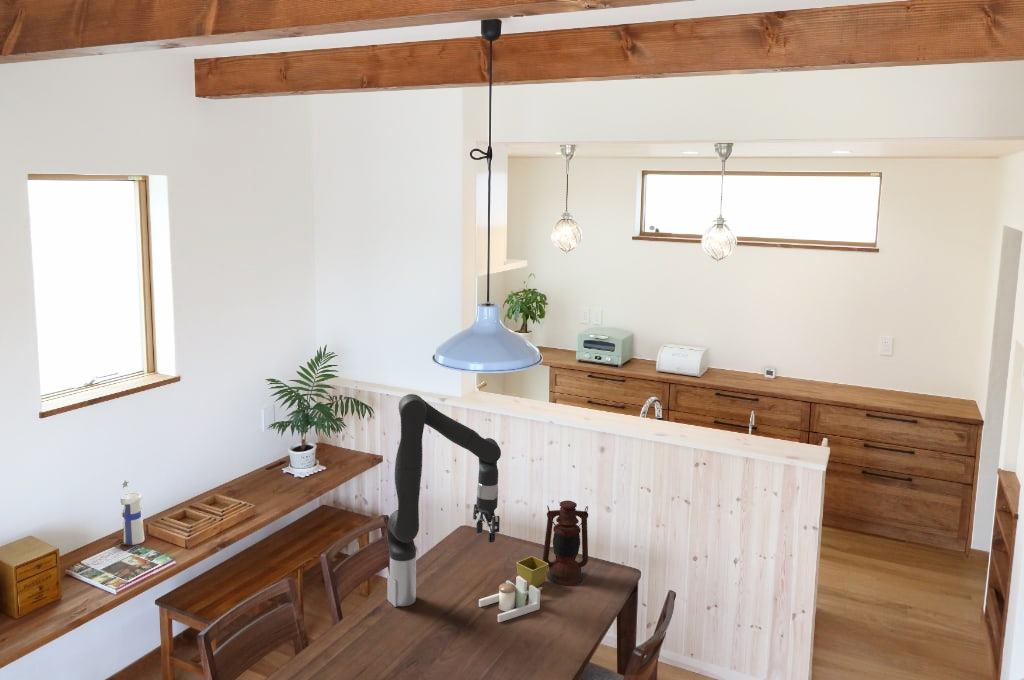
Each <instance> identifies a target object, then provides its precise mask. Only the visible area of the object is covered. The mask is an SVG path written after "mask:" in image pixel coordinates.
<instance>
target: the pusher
mask: <svg viewBox="0 0 1024 680" xmlns="http://www.w3.org/2000/svg"><path fill="white" fill-rule="evenodd" d="M505 583H511V584H513V585H515V587H516V590H515V609H516V608H519V607H522V606H525V605H526V600H525V595H529V590H527V591H526V592H524V591H523V590H521V589H520V588H519V587H517V586H516V584H514V583H513V582H512V581H510V580H509V579H507V580H506V581H505ZM536 588H537V589H538V590H540V591H542V590H543V587H542V586H538V587H536Z"/></svg>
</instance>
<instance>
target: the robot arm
mask: <svg viewBox="0 0 1024 680" xmlns="http://www.w3.org/2000/svg"><path fill="white" fill-rule="evenodd" d="M398 402H399V403H398V412H399V417H400V439H399V441H400V442H399V444H398V448H397V453H396V457H395V463H394V464H395V465H394V484H395V490H396V496H397V509H396V510H394V511H393V512H392V513H391V514H390V516H389V518H388V520H387V545H388V550H389V574H388V575H387V581H386V582H387V589H386V590H387V592H386V594H387V601H388V603H390V604H391V605H392V606H393V607H394V608H396V607H409V606H411V605H413V604H414V603H415V602H416V600H417V598H416V596H417V591H416V589H417V584H416V583H417V548H416V545H415V539H416V537H417V536H418V533H419V532H420V531H419V530H420V513H419V512H420V511H419V508H420V507H419V506H420V505H419V501H420V494H421V493H420V492H421V481H422V473H423V472H422V471H423V470H422V469H423V433H424V430H425V425H426V426H428V427H431V429H434V430H435V431H436V432H437V433H438V434H441V435H442V436H443V437H445V438H446V439H447V440H449V441H450V442H451V443H454V444H456V445H457V446H459V447H461V448H463V449H465V450H467V451H469V452H470V453H471V454H473V455H474V456H475V457H477V458H478V481H477V482H478V483H477V486H476V487H477V488H476V504H473V514H472V518H473V520H474V521H475V523H476V527H475V529H476V530H475V532H476V534H481V533H483V529H484V528H483V527H484V526H483V525H484V524H485V526H486V527H487V530H488V542H489V543H494V542H495V540H496V533H499V532H500V522H501V520H500V519H501V518H500V515H496V514H495V510H496V509H497V508H498V505H499V504H498V502H499V468H498V461H499V460H500V458H501V457H502V451H501V448H500V446H499V444H498V442H497V441H496V439H493V438H490V437H487V438H484V437H482V436H481V435H480V434H479V433H478V432H476V430H474V429H472V428H470V427H468V426H466V425H464V424H462V423H461V422H459V421H457V420H455V419H453V418H451V417H449V416H448V415H446V414H444V413H442V412H440V411H439V410H438V409H436V408H434V407H433V406H432V405H430V404H429V403H428V402H426V400H425V399H423V398H422V397H421V396H419V395H417V394H414V393H408V394H405V395H403V396H402V397H401V399H400V400H399V401H398ZM483 522H484V523H483Z"/></svg>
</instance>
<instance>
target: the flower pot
mask: <svg viewBox="0 0 1024 680" xmlns="http://www.w3.org/2000/svg"><path fill="white" fill-rule="evenodd" d="M548 565H549V564H548V563H546V562H544V561H543V559H539V558H537V557H535V556H532V555H531V556H529V557H526V558H524V559H522V560H518V561H517V562H516V572H517V576H520V577H521V578H523V579H524V580H526V581H527V589H529V586H530V585H533V586H534V587H536V588H539V587H541V585H542V584H544V582H545V579H546V578H547V572H548V571H549V567H548Z"/></svg>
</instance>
